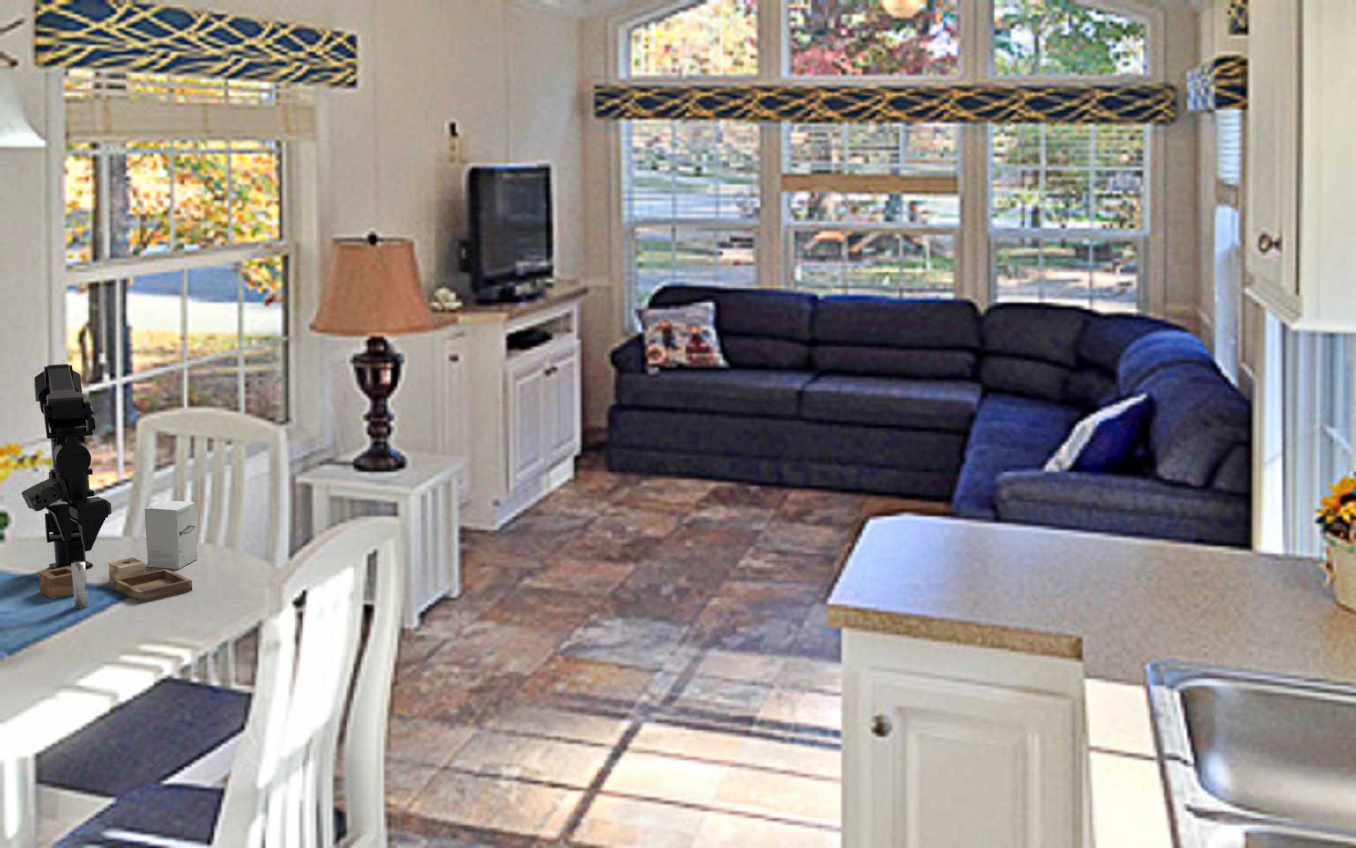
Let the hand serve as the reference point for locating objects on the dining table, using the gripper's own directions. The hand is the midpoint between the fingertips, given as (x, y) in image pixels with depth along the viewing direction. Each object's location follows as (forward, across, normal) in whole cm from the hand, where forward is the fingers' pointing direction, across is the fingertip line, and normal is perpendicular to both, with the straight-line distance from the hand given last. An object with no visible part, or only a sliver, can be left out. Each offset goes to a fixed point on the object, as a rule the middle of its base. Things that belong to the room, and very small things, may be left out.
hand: (77, 545), depth 250 cm
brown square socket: (+12, -11, +1) cm, 16 cm away
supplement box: (+12, -14, +25) cm, 31 cm away
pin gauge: (+12, 0, 0) cm, 12 cm away
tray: (+12, 0, +14) cm, 18 cm away
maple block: (+12, -9, +13) cm, 20 cm away
